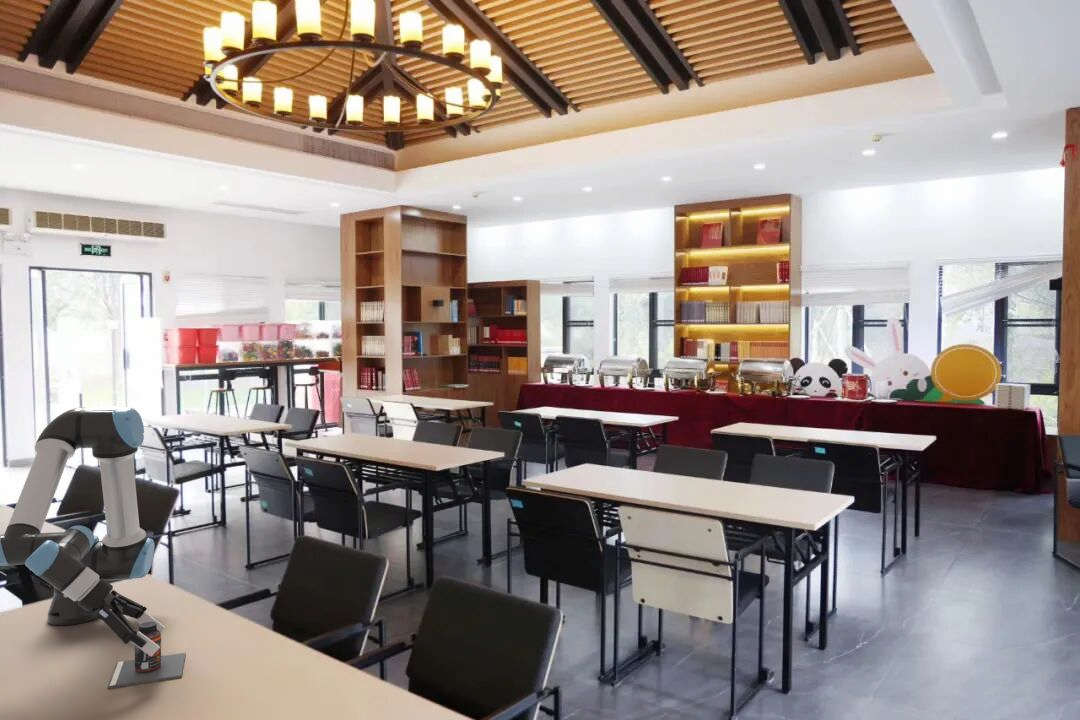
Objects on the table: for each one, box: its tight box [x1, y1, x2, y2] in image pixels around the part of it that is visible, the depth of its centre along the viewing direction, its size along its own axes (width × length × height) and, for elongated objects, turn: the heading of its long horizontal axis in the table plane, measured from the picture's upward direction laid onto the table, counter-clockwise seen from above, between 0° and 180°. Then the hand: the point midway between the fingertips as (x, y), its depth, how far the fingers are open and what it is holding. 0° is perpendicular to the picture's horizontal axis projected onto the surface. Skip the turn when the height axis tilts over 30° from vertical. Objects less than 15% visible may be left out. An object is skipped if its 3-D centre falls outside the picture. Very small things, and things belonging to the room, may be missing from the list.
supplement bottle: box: [134, 622, 162, 673], centre depth 188 cm, size 6×6×11 cm
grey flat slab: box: [107, 652, 186, 690], centre depth 188 cm, size 14×16×1 cm
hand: (158, 641), depth 189 cm, fingers open, 13 cm apart
